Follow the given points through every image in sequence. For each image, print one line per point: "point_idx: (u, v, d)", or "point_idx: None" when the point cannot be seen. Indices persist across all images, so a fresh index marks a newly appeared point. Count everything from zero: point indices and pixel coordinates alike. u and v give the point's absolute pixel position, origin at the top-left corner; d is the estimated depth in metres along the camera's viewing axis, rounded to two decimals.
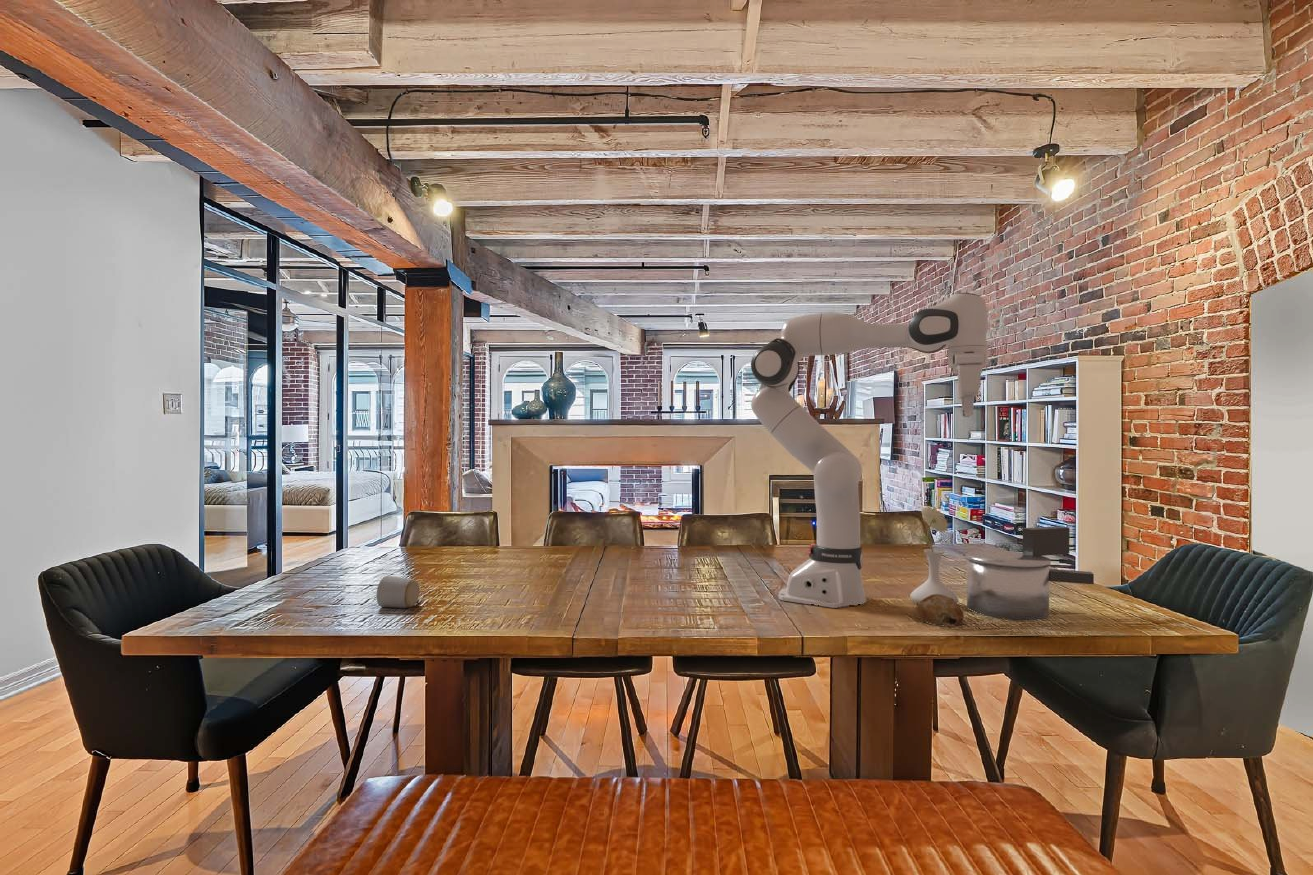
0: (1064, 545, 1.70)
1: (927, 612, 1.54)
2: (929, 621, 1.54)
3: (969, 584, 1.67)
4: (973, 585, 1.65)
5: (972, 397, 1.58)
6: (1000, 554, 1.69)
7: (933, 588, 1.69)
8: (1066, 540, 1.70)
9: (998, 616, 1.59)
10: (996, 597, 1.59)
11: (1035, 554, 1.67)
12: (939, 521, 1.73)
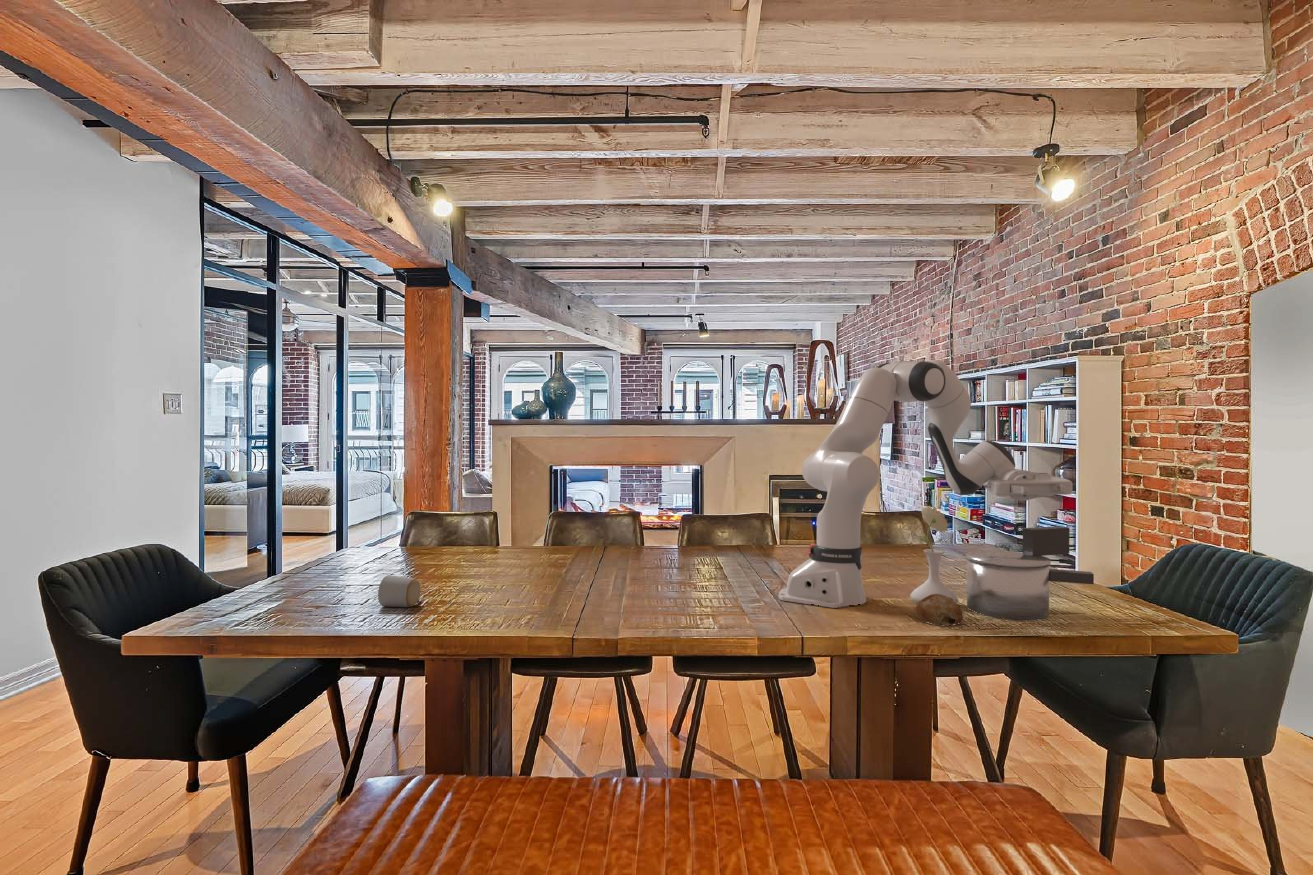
0: (1064, 545, 1.70)
1: (927, 611, 1.54)
2: (928, 621, 1.54)
3: (969, 584, 1.67)
4: (973, 585, 1.65)
5: None
6: (1000, 554, 1.69)
7: (933, 588, 1.69)
8: (1066, 540, 1.70)
9: (998, 616, 1.59)
10: (996, 597, 1.59)
11: (1035, 554, 1.67)
12: (939, 521, 1.73)
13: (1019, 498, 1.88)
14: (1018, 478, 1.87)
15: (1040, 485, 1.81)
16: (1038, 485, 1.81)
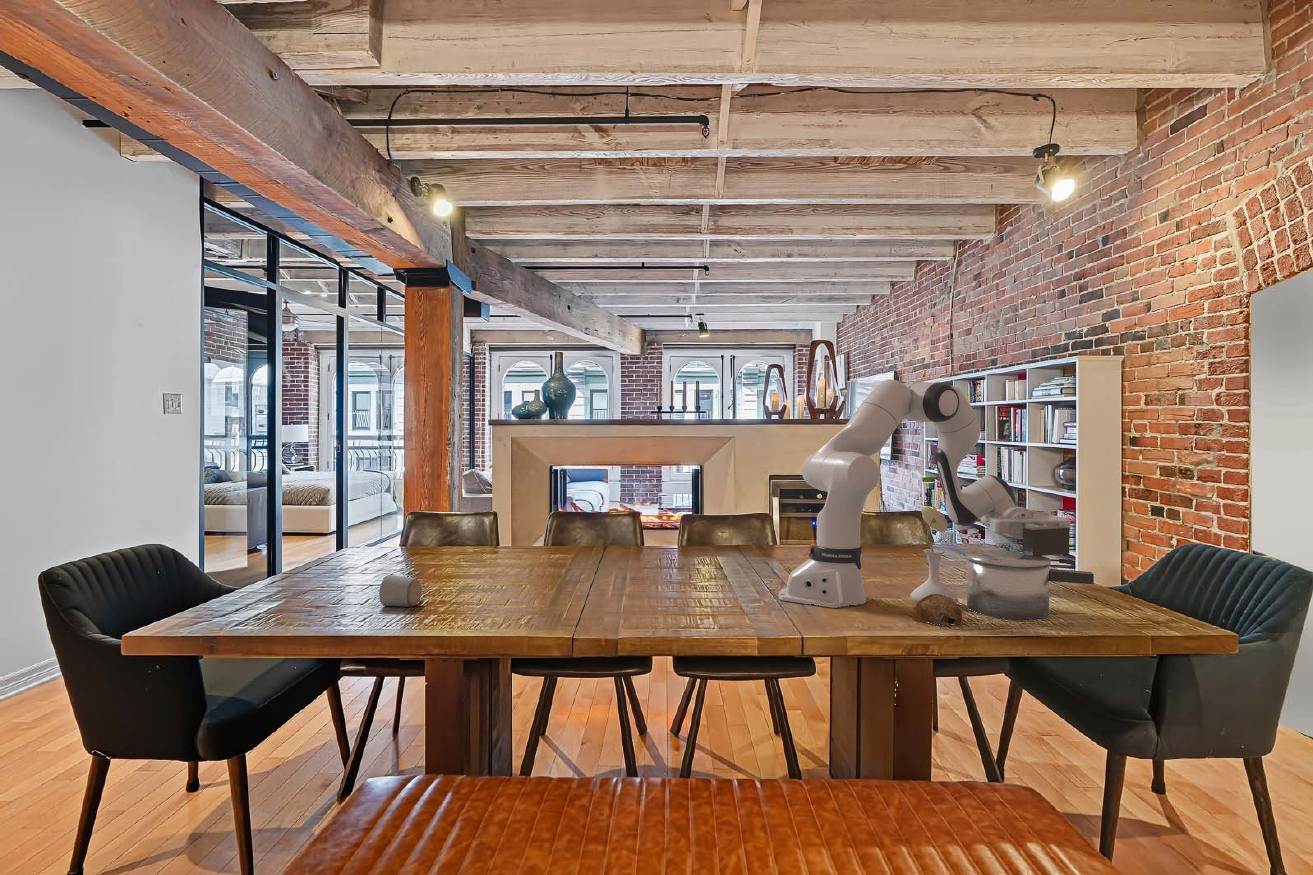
0: (1064, 545, 1.70)
1: (926, 611, 1.54)
2: (928, 621, 1.54)
3: (969, 584, 1.67)
4: (973, 585, 1.65)
5: None
6: (1000, 554, 1.69)
7: (933, 588, 1.69)
8: (1066, 540, 1.70)
9: (998, 616, 1.59)
10: (996, 597, 1.59)
11: (1035, 554, 1.67)
12: (939, 521, 1.73)
13: (1017, 536, 1.89)
14: (1017, 516, 1.87)
15: None
16: (1037, 524, 1.82)
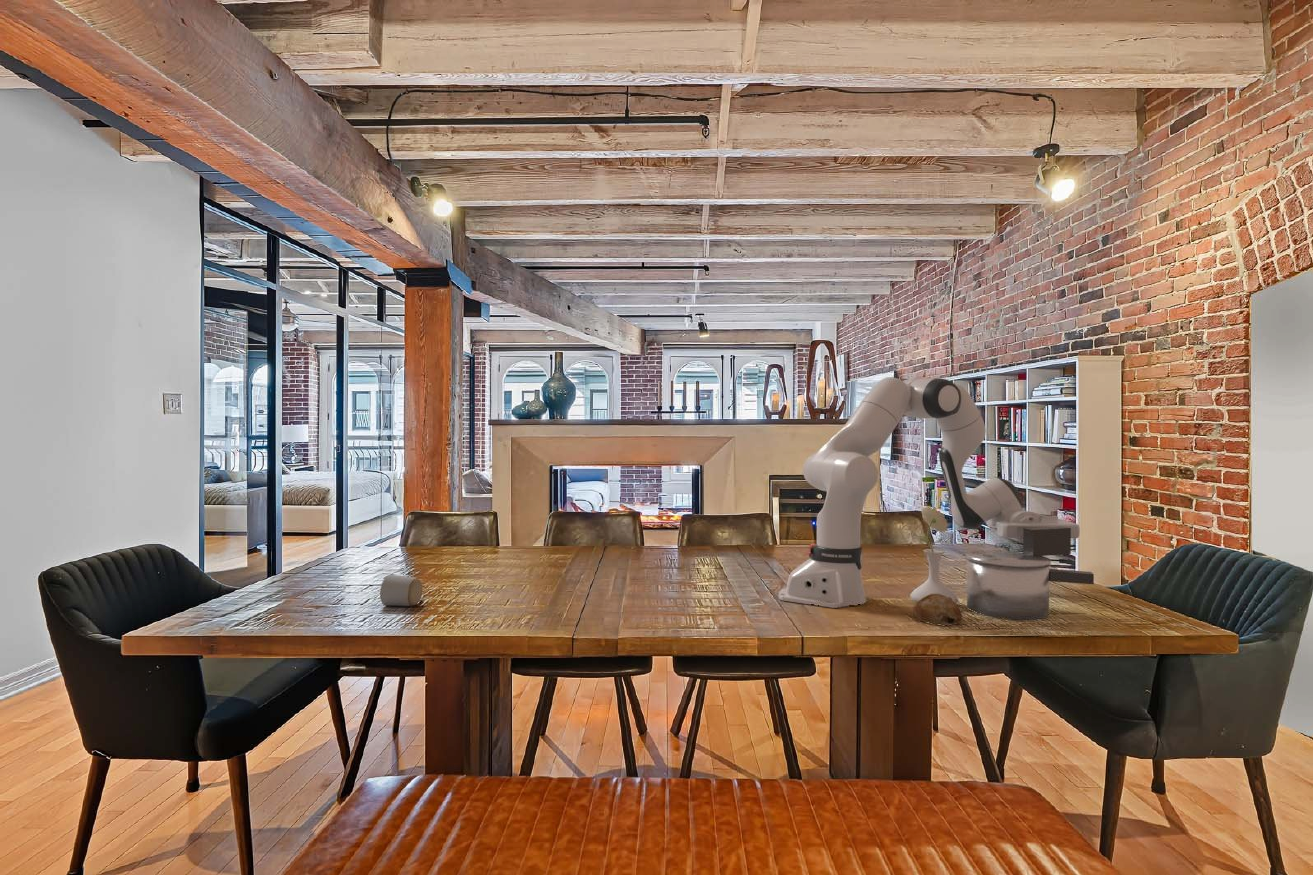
0: (1065, 545, 1.69)
1: (926, 611, 1.54)
2: (927, 620, 1.54)
3: (969, 584, 1.67)
4: (973, 585, 1.65)
5: None
6: (1000, 554, 1.69)
7: (933, 588, 1.69)
8: (1067, 540, 1.69)
9: (998, 616, 1.59)
10: (996, 597, 1.59)
11: (1035, 554, 1.67)
12: (939, 521, 1.73)
13: None
14: (1024, 520, 1.83)
15: None
16: None
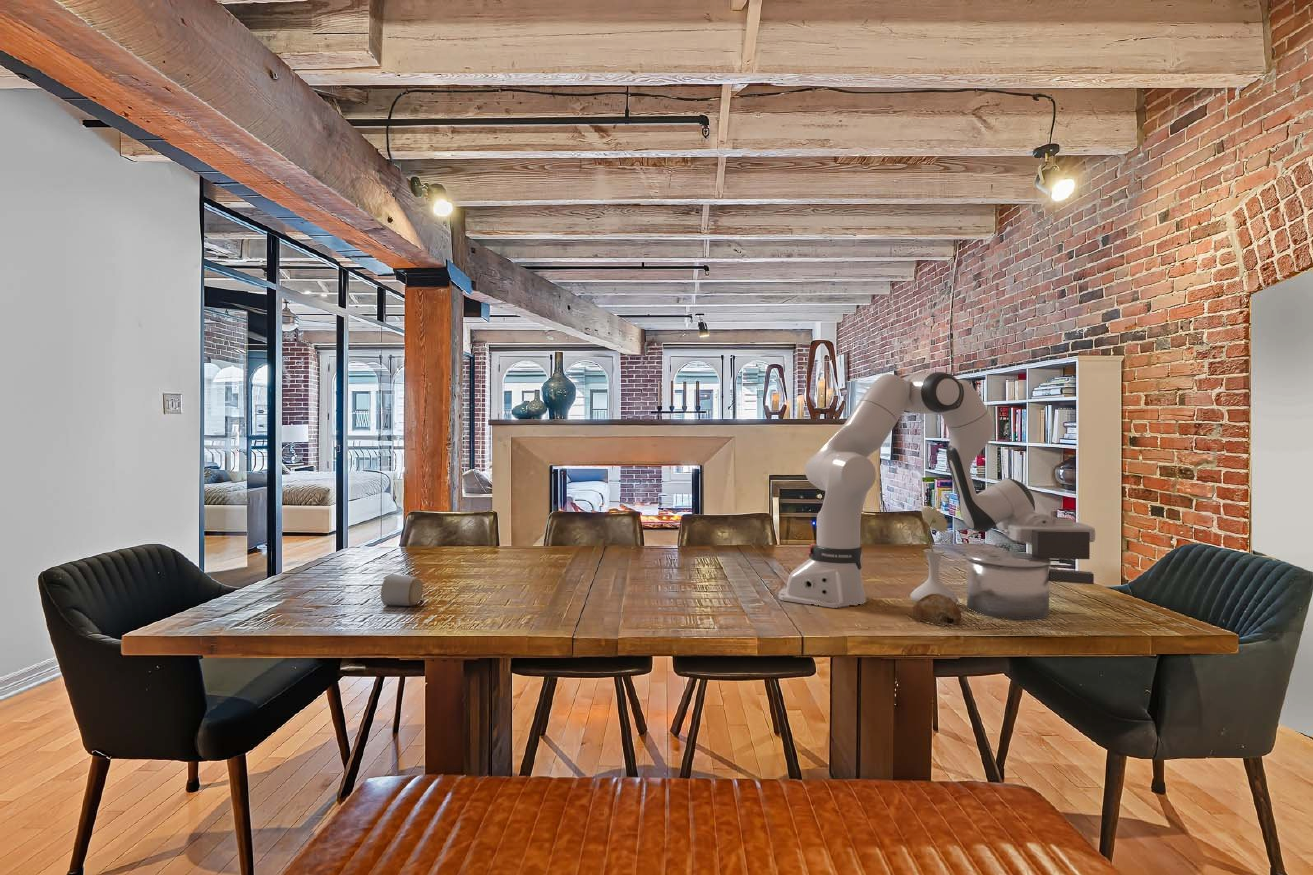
0: (1082, 550, 1.63)
1: (925, 611, 1.54)
2: (927, 620, 1.54)
3: (969, 584, 1.67)
4: (973, 585, 1.65)
5: None
6: (1005, 554, 1.69)
7: (933, 588, 1.69)
8: (1084, 544, 1.63)
9: (998, 616, 1.59)
10: (996, 597, 1.59)
11: (1041, 556, 1.64)
12: (939, 521, 1.73)
13: None
14: (1038, 523, 1.76)
15: None
16: None
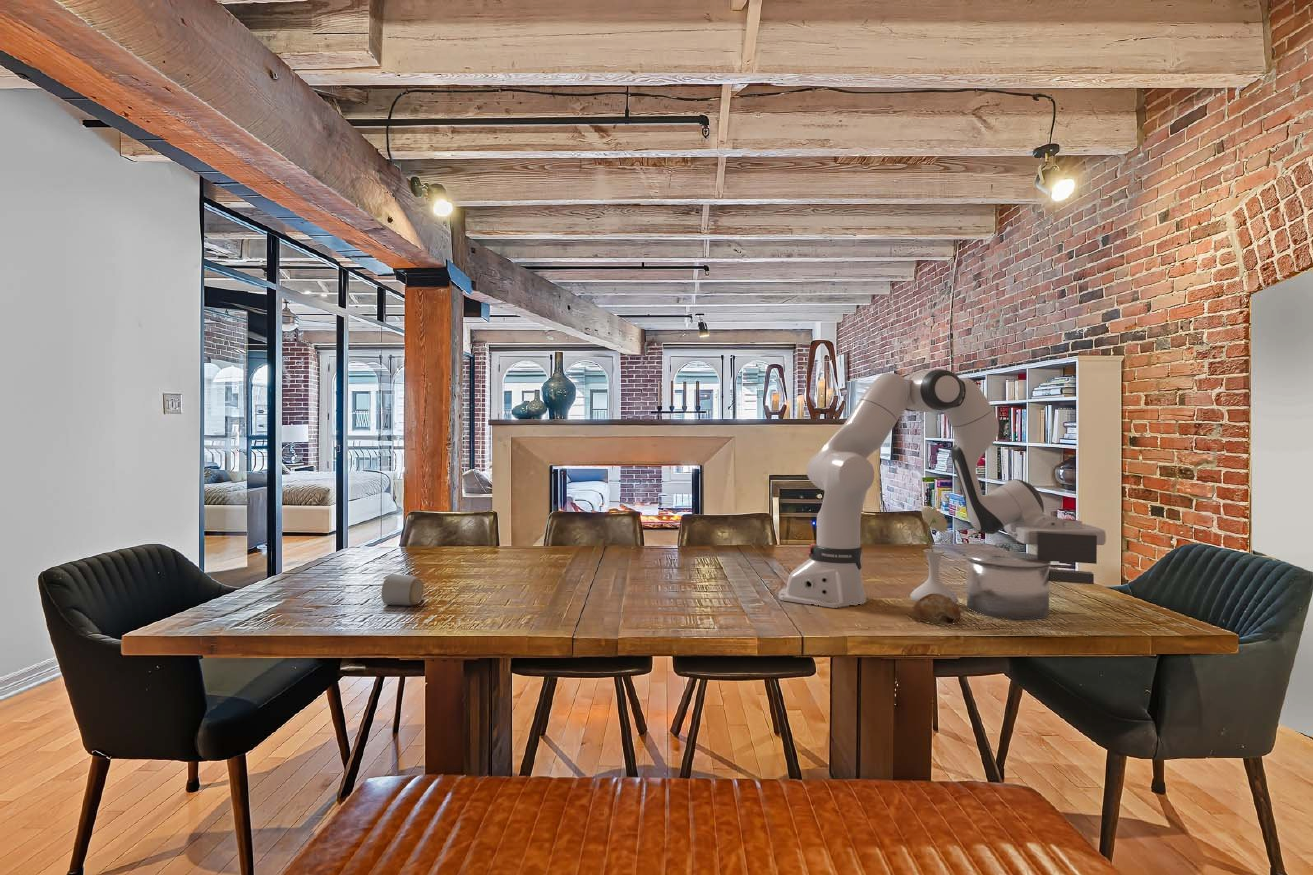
0: (1088, 553, 1.58)
1: (925, 611, 1.54)
2: (926, 620, 1.54)
3: (969, 584, 1.67)
4: (973, 585, 1.65)
5: None
6: (1010, 555, 1.68)
7: (933, 588, 1.69)
8: (1091, 548, 1.57)
9: (998, 616, 1.59)
10: (996, 597, 1.59)
11: (1042, 558, 1.61)
12: (939, 521, 1.73)
13: None
14: (1046, 525, 1.72)
15: None
16: None
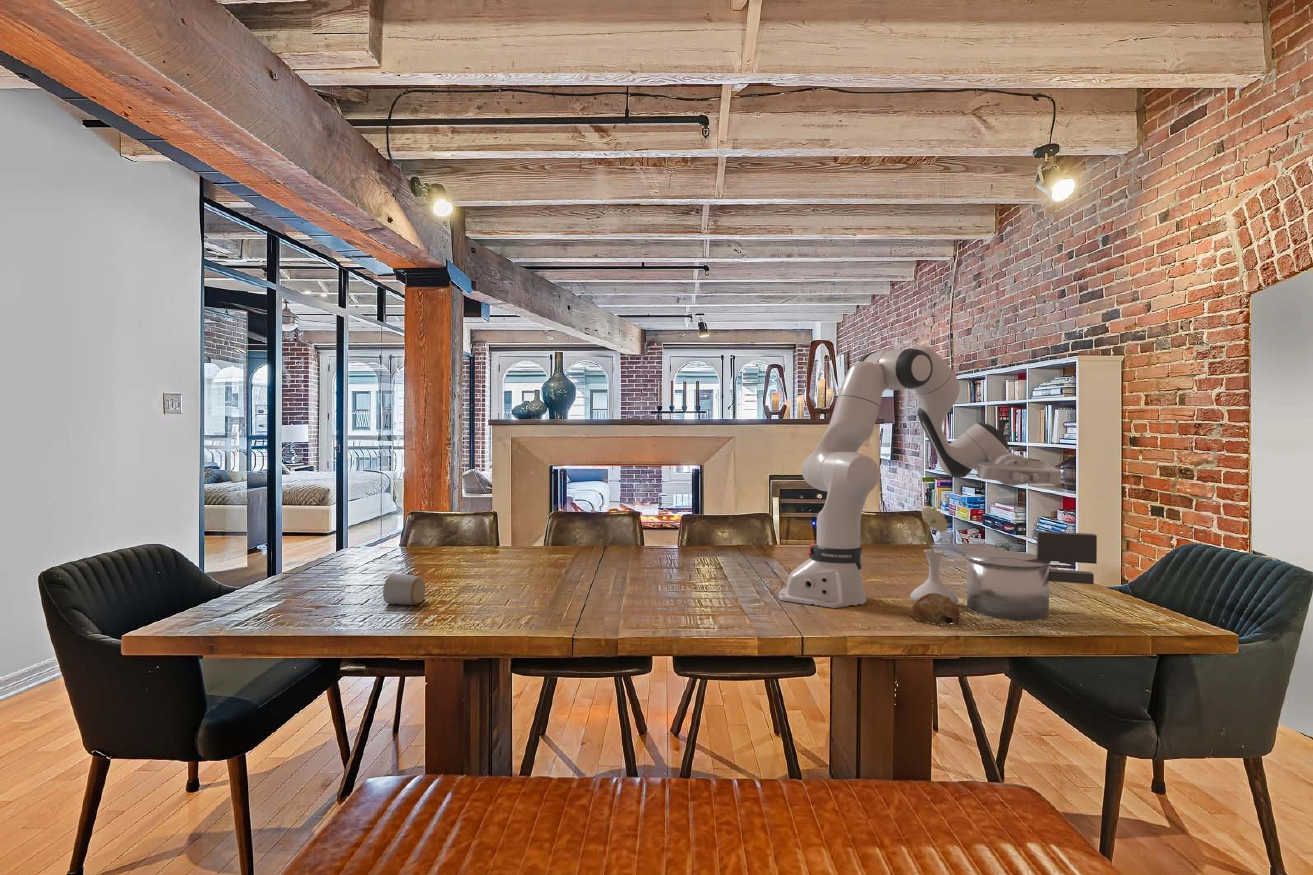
0: (1088, 553, 1.58)
1: (924, 611, 1.55)
2: (926, 620, 1.54)
3: (969, 584, 1.67)
4: (973, 585, 1.65)
5: None
6: (1010, 555, 1.68)
7: (933, 588, 1.69)
8: (1091, 548, 1.57)
9: (998, 616, 1.59)
10: (996, 597, 1.59)
11: (1042, 558, 1.61)
12: (939, 521, 1.73)
13: (1008, 482, 1.88)
14: (1009, 463, 1.86)
15: None
16: (1027, 472, 1.81)
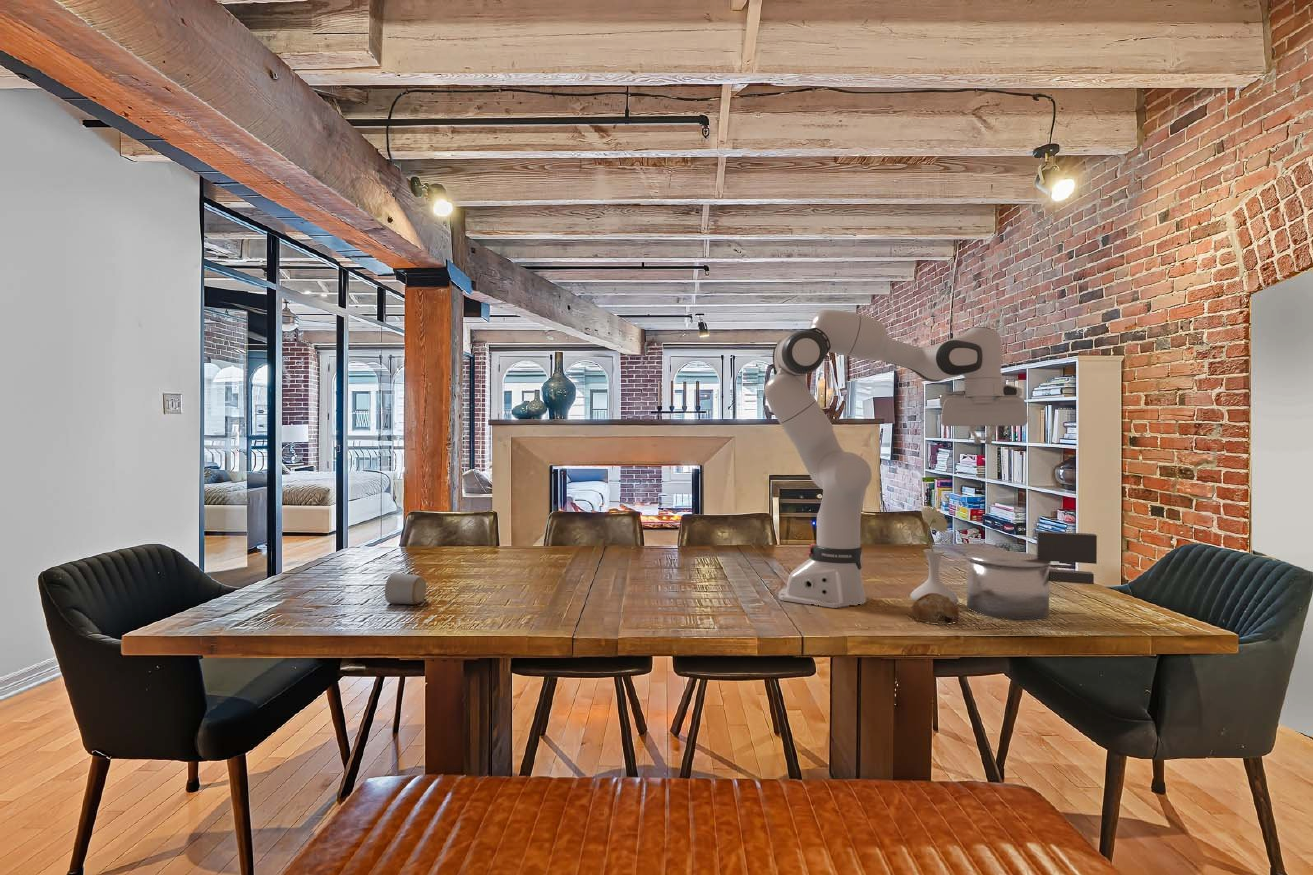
0: (1088, 553, 1.58)
1: (923, 610, 1.55)
2: (925, 620, 1.55)
3: (969, 584, 1.67)
4: (973, 585, 1.65)
5: None
6: (1010, 555, 1.68)
7: (933, 588, 1.69)
8: (1091, 548, 1.57)
9: (998, 616, 1.59)
10: (996, 597, 1.59)
11: (1042, 558, 1.61)
12: (939, 521, 1.73)
13: None
14: (976, 403, 1.73)
15: None
16: None
